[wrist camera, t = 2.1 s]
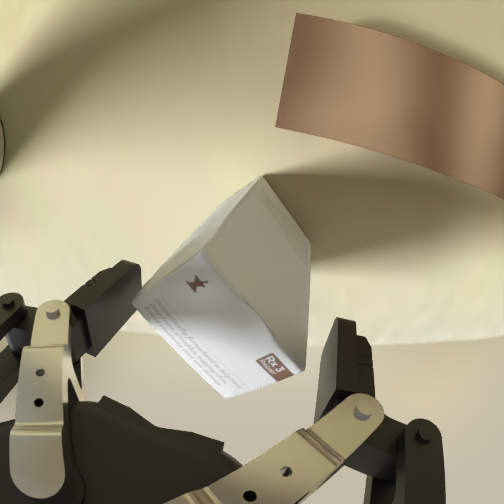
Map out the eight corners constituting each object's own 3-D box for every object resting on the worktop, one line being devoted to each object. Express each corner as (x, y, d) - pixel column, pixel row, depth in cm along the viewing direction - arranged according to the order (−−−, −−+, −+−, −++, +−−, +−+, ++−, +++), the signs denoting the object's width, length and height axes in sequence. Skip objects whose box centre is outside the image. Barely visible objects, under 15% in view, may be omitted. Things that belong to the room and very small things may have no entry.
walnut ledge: (286, 124, 19) (275, 127, 14) (302, 37, 16) (296, 13, 11) (480, 184, 17) (517, 205, 12) (499, 104, 14) (539, 107, 10)
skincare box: (214, 208, 22) (117, 301, 11) (265, 170, 20) (195, 242, 9) (267, 274, 23) (218, 405, 13) (318, 244, 21) (308, 375, 11)
